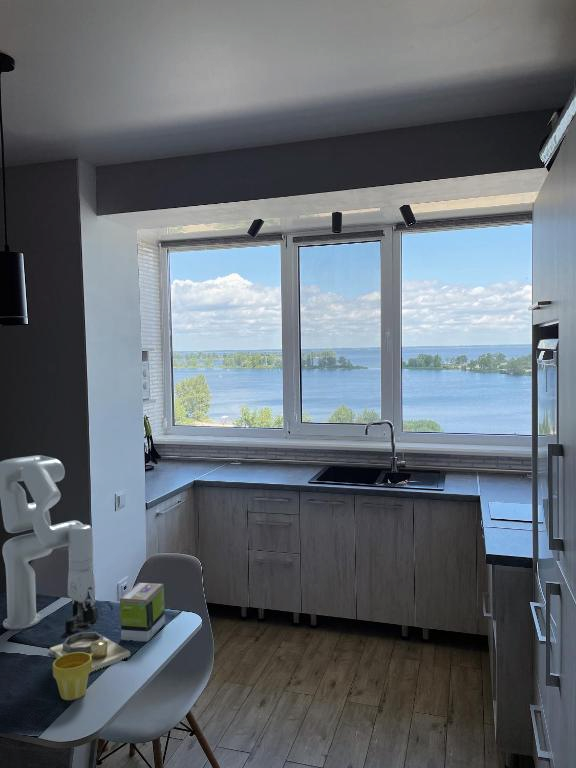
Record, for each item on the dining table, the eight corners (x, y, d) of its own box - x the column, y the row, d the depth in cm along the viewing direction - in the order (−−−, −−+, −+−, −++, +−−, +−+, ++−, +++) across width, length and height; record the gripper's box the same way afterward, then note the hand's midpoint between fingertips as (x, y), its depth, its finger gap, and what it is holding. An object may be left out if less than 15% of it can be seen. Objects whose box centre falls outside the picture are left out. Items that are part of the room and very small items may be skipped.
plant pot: (64, 683, 174) (63, 650, 174) (98, 685, 173) (97, 651, 173) (46, 703, 164) (45, 668, 164) (82, 705, 163) (81, 669, 163)
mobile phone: (69, 621, 206) (101, 604, 220) (63, 619, 208) (95, 603, 221) (69, 635, 207) (102, 618, 220) (63, 633, 208) (96, 616, 221)
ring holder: (57, 646, 194) (57, 640, 194) (90, 634, 203) (90, 628, 203) (75, 658, 186) (75, 651, 186) (108, 645, 195) (108, 639, 195)
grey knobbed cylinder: (86, 631, 191) (85, 594, 191) (69, 630, 192) (68, 593, 192) (96, 624, 197) (94, 587, 196) (79, 622, 198) (78, 587, 197)
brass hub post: (87, 656, 188) (87, 643, 188) (102, 650, 191) (102, 638, 191) (96, 661, 184) (95, 648, 184) (110, 655, 188) (110, 642, 188)
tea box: (139, 621, 216) (139, 581, 216) (165, 623, 214) (165, 583, 214) (120, 640, 202) (119, 597, 201) (147, 642, 200) (146, 599, 199)
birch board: (49, 652, 194) (49, 648, 193) (94, 635, 205) (94, 631, 205) (83, 675, 179) (83, 670, 179) (130, 656, 190) (130, 651, 190)
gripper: (57, 561, 197) (59, 615, 197) (83, 572, 185) (85, 630, 186) (78, 555, 202) (80, 608, 203) (105, 566, 191) (107, 622, 191)
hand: (82, 618), depth 194 cm, fingers closed on grey knobbed cylinder, 5 cm apart
